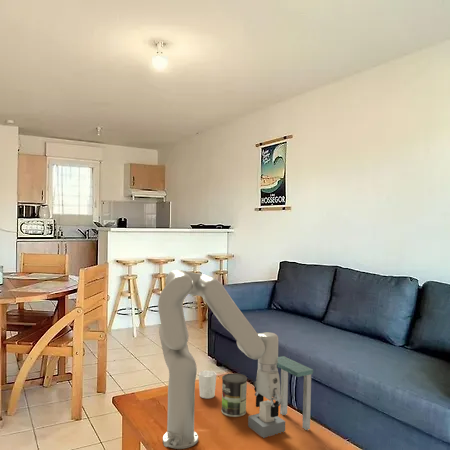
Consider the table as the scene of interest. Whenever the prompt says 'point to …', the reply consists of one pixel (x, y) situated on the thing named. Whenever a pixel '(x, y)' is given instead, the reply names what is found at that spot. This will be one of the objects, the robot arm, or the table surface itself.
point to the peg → (265, 412)
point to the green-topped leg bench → (298, 371)
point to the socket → (266, 426)
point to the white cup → (207, 383)
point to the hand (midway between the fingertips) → (266, 411)
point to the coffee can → (234, 394)
